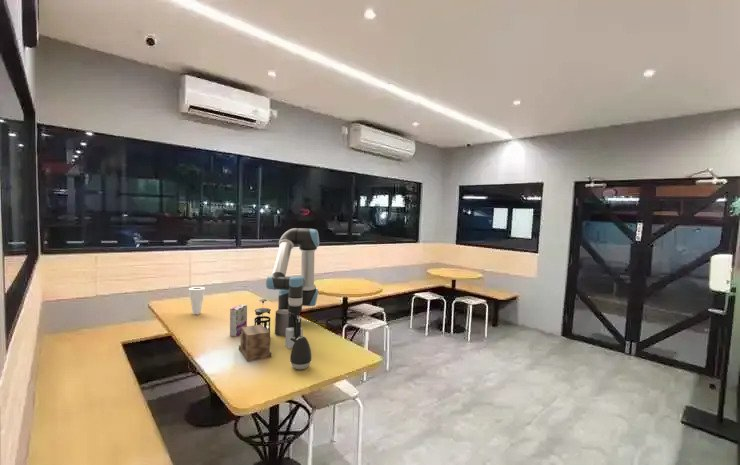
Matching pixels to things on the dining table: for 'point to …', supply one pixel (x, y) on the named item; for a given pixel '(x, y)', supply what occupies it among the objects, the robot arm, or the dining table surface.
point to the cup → (196, 298)
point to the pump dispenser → (300, 353)
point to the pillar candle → (281, 322)
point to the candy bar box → (238, 319)
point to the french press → (258, 318)
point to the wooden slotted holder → (255, 342)
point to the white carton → (290, 335)
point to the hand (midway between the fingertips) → (293, 345)
